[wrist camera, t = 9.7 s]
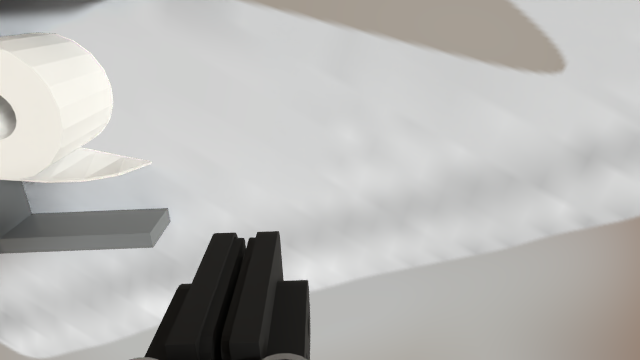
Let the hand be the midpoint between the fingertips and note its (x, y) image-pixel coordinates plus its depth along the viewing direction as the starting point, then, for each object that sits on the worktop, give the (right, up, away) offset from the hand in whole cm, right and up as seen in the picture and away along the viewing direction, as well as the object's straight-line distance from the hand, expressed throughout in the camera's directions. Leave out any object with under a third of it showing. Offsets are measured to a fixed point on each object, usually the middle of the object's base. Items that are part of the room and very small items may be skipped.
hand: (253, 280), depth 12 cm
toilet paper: (-16, +8, +21) cm, 28 cm away
